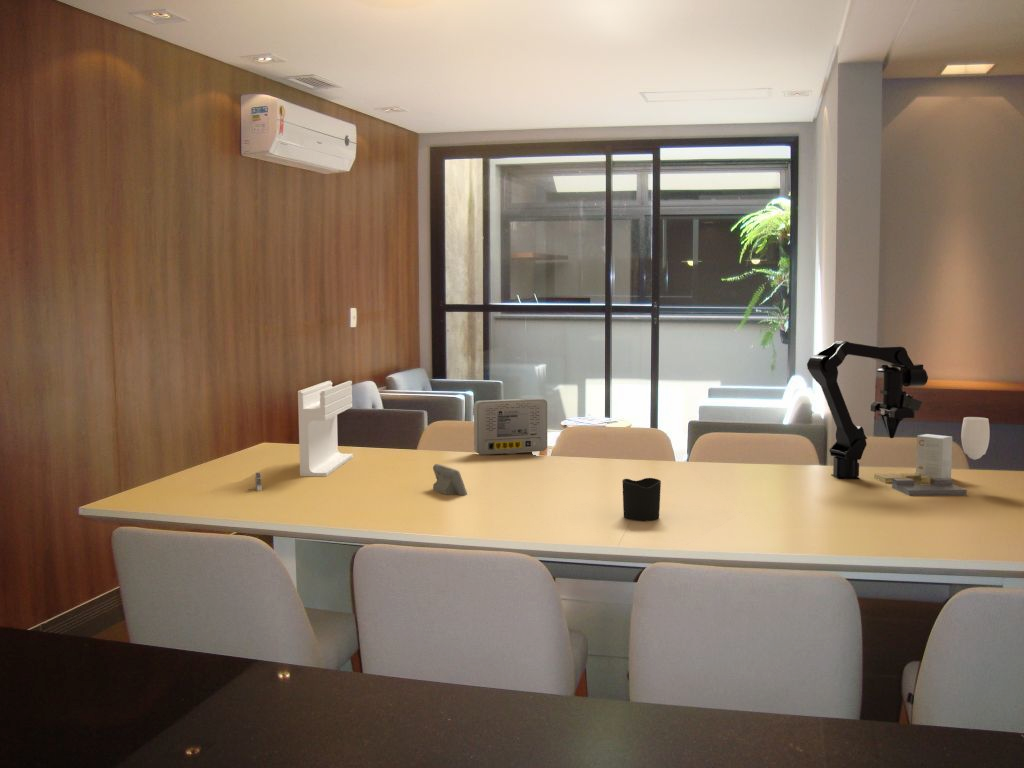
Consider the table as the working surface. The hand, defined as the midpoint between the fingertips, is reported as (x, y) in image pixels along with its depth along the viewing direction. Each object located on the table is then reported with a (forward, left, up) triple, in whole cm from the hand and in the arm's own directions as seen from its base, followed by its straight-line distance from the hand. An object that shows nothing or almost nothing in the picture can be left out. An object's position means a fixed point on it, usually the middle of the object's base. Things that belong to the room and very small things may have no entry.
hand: (891, 437), depth 291 cm
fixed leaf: (0, -27, -12) cm, 30 cm away
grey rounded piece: (+14, -23, -12) cm, 29 cm away
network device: (-115, +41, -12) cm, 123 cm away
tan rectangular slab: (0, -9, -12) cm, 15 cm away
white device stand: (-174, +14, -12) cm, 175 cm away
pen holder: (-85, -54, -12) cm, 102 cm away
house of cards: (-189, -24, -12) cm, 191 cm away
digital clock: (-134, -26, -12) cm, 137 cm away
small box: (+12, -4, -12) cm, 17 cm away
